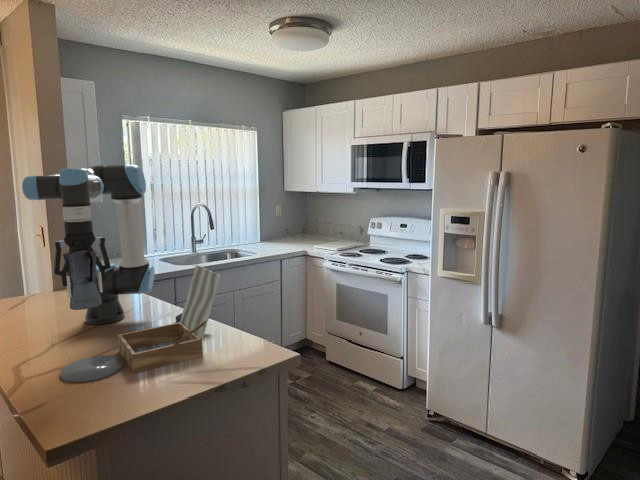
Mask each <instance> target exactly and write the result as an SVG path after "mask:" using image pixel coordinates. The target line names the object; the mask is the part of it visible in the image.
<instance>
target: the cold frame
mask: <svg viewBox="0 0 640 480" xmlns="http://www.w3.org/2000/svg"><path fill="white" fill-rule="evenodd" d="M221 276H222V275H220V274H218V273H216V272H214V271H211V270H210V269H207V268H205V267H203V266H200V265H198V264H196V265H195V267H194V271H193V275H192V278H191V281H190V285H189V289H188V292H187V296H186V299H185V303H184V306H183V310H182V312H181V313H182V316H181V320H180V322H178V323H175V322H174V323H169V324H164V325H158V326H154V327H150V328H144V329H140V330H135V331H130V332H126V333H125V332H123V333H121V334H117V340H118V343H117V344H118V352H119V354H120V355H121V356H122V357H123V358H122V359H123V360H125V362H126V363H127V364H128V366H129V368H130V369H131V371H132V372H133V374H136V373H137V374H138V373H141V372H144V371H150V370H153V369H157V368H161V367H165V366H168V365H172V364H177V363H180V362H185V361H189V360H192V359H197V358H201V357H203V356H204V353H203V339H204V336H205V333H206V330H207V326H208V322H209V319H210V318H209V317H210V315H211V311H212V307H213V305H214V304H213V303H214V302H215V301H214V299H215V297H216V293H217V290H218V286H219V284H220V283H219V282H220V280H221ZM176 339H177V340H176ZM171 340H172V341H175V342H174V343H173V344H169V345H164V346H161V347H160V346H159V347H157V348H153V349H147V350H142V351H138V352H136V351H135V350H137V349H140V348H146V347H149V346H155V345H158V344H163V343H167V341H168V342H172V341H171Z"/></svg>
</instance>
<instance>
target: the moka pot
mask: <svg viewBox="0 0 640 480" xmlns="http://www.w3.org/2000/svg"><path fill="white" fill-rule="evenodd" d="M93 250H94V251H88V250H87V251H86V250H81V251H75V252H74V253H71V254H69V250H68V251H65V252H63V255H62V256H63V260H64V263H65V262H66V260H67V258H68V260H69V264H70V266H69V269H68V271H67V274H68V275H69V277H70V287H71V296H72V297H69V309H70V310H73V311H79V310H82V311H83V310H87V309H90V308H94V307H98V306H100V305H101V304H102V300H101V296H100V293H99V289H98V285H97V282H96V266H97V265H96V255H97V250H96V249H93Z"/></svg>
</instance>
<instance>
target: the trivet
mask: <svg viewBox="0 0 640 480" xmlns="http://www.w3.org/2000/svg"><path fill="white" fill-rule="evenodd" d="M124 365H125V364H124V358H122V357H121V356H117V355H111V354H110V355H109V354H104V355H101V354H100V355H94V356H88V357H84V358H81V359H78V360H75V361H73V362H70V363H69V364H67V365H65V366H63V368H62V369H61V370H60V372H59V374H60V375H59V376H60V379H61V380H62V381H64V382H67V383H87V382H94V381H98V380H99V381H100V380H101V379H105V378H108V377H110V376H113V375H114V374H116V373H118V372H120V371H121V370H122V369H123V368H124Z"/></svg>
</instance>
